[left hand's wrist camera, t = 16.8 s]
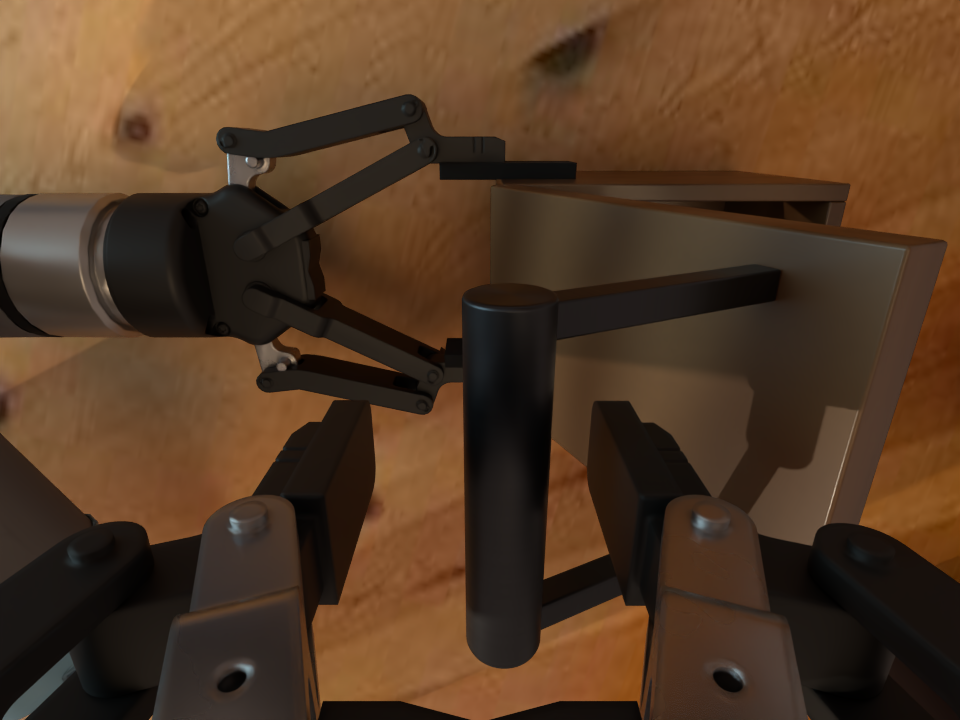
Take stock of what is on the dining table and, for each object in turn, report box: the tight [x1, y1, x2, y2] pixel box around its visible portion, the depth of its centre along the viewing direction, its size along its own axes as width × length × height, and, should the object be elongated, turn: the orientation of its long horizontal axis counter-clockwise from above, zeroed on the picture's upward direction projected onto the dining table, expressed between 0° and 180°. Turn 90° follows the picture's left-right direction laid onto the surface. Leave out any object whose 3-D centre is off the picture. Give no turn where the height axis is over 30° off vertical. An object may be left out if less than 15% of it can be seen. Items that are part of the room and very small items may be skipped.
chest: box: [496, 171, 850, 227], centre depth 30 cm, size 15×9×11 cm, turn 90°
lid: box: [462, 185, 947, 669], centre depth 16 cm, size 16×9×8 cm
